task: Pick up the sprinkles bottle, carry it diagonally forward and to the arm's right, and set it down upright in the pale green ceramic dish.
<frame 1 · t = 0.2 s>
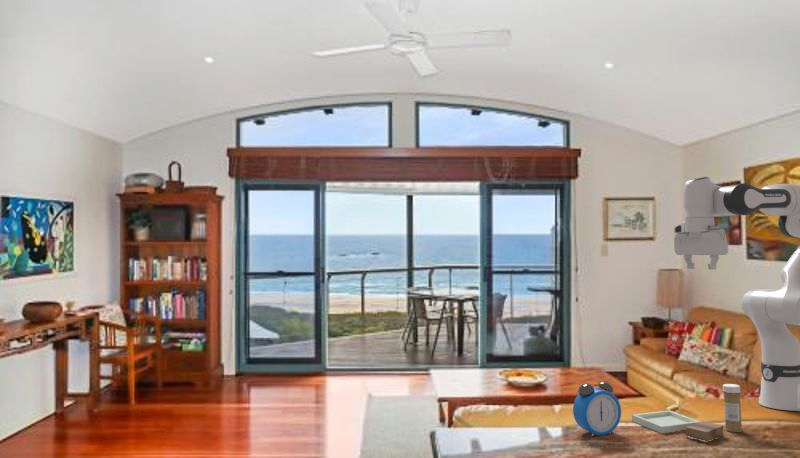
hand: (701, 269, 198), 47 cm above the table, fingers open, 8 cm apart
alarm clock: (597, 434, 182), on the table
sprinkles bottle: (733, 431, 180), on the table
walnut block: (704, 437, 175), on the table
dish: (665, 424, 188), on the table
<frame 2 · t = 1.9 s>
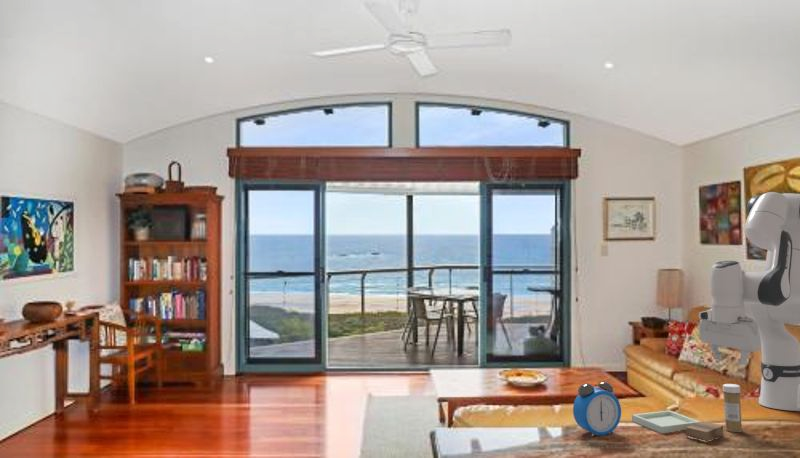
hand: (730, 362, 181), 20 cm above the table, fingers open, 8 cm apart
nothing on the table moved.
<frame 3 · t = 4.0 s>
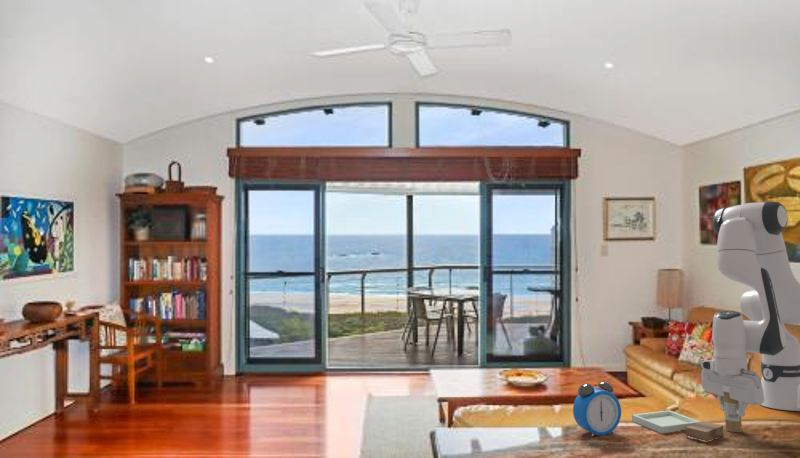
hand: (732, 413, 180), 5 cm above the table, fingers closed on sprinkles bottle, 4 cm apart
sprinkles bottle: (733, 431, 180), on the table, touching gripper
everything else where it was.
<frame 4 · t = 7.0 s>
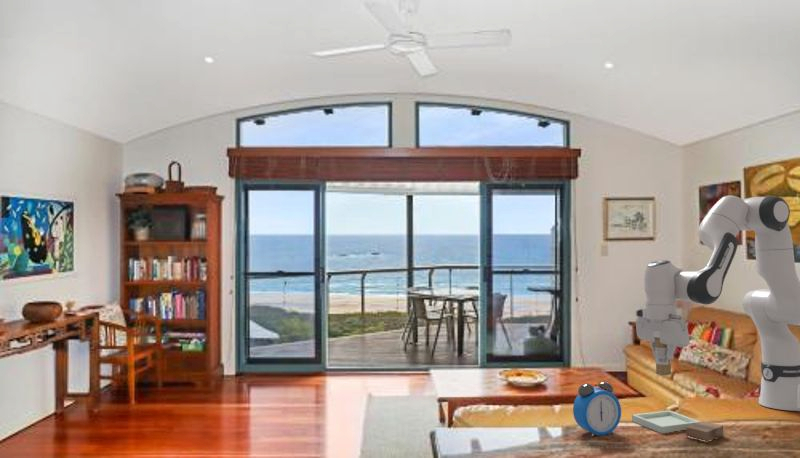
hand: (663, 357, 189), 21 cm above the table, fingers closed on sprinkles bottle, 4 cm apart
sprinkles bottle: (663, 374, 189), point 15 cm above the table, touching gripper
everything else where it was.
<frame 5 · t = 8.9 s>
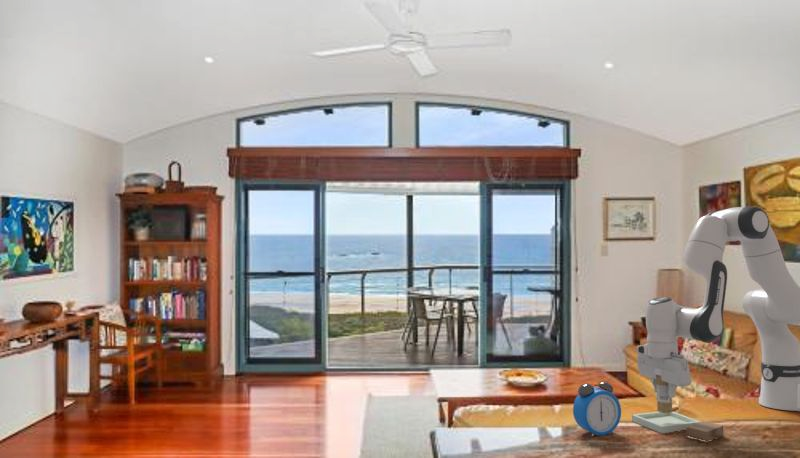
hand: (664, 395, 188), 9 cm above the table, fingers closed on sprinkles bottle, 4 cm apart
sprinkles bottle: (664, 412, 188), point 4 cm above the table, touching gripper
everything else where it was.
when the fingers open (7 cm above the table, at t = 10.1 s): sprinkles bottle drops 2 cm, resting on dish.
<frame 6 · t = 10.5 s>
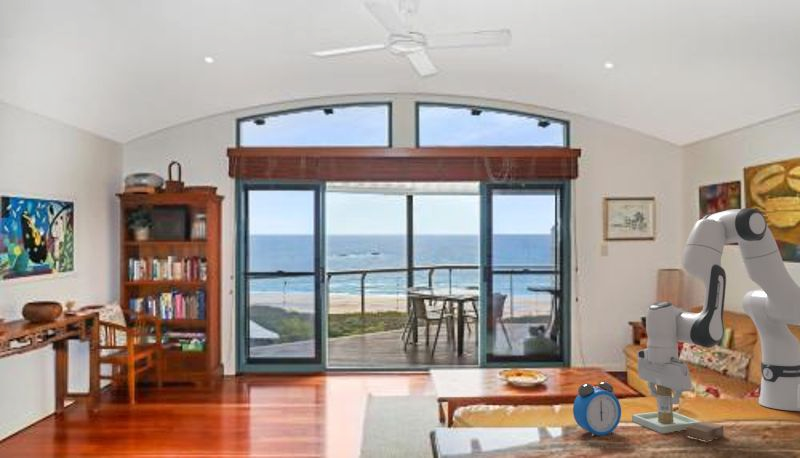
hand: (664, 400, 188), 8 cm above the table, fingers open, 8 cm apart
sprinkles bottle: (665, 422, 188), point 1 cm above the table, touching dish
everything else where it was.
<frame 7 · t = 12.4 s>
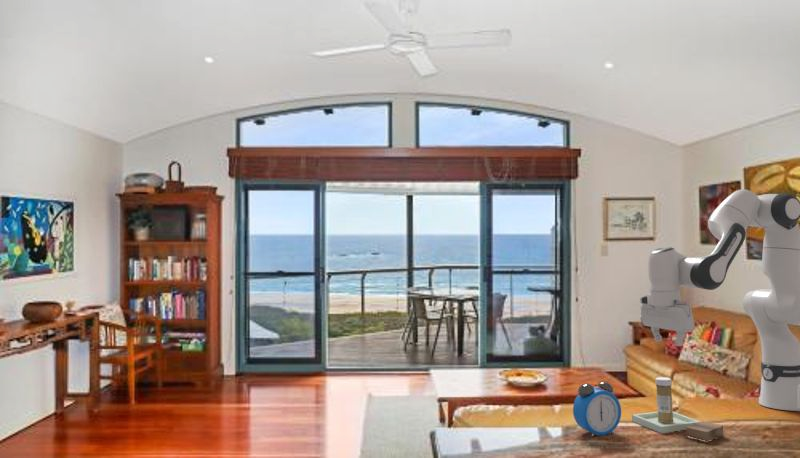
hand: (668, 343, 191), 25 cm above the table, fingers open, 8 cm apart
nothing on the table moved.
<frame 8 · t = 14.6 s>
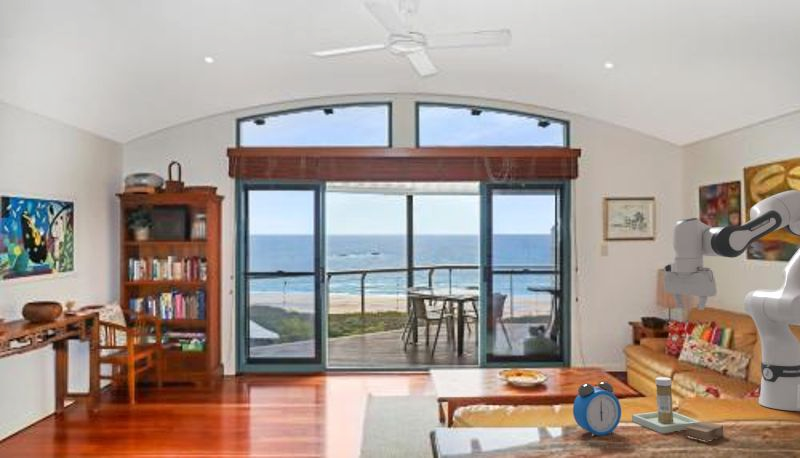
hand: (690, 308, 202), 34 cm above the table, fingers open, 8 cm apart
nothing on the table moved.
at the end: sprinkles bottle inside the target area on the dish (0.2 cm from its centre), point 0.6 cm above the dish's base; sprinkles bottle tilted 0°; the gripper is holding nothing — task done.
